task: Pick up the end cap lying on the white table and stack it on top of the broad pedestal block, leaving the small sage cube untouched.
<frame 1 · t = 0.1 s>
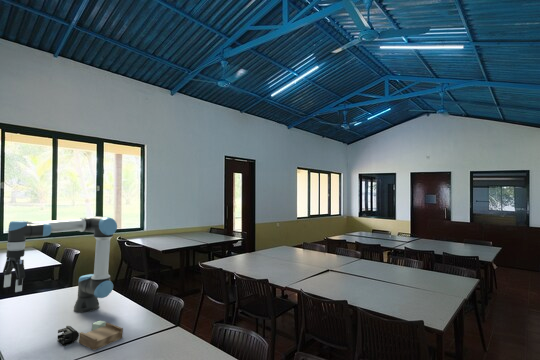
hand: (12, 289, 162), 28 cm above the table, fingers open, 13 cm apart
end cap: (67, 341, 164), on the table
pedestal: (101, 340, 166), on the table
sage cube: (98, 331, 177), on the table
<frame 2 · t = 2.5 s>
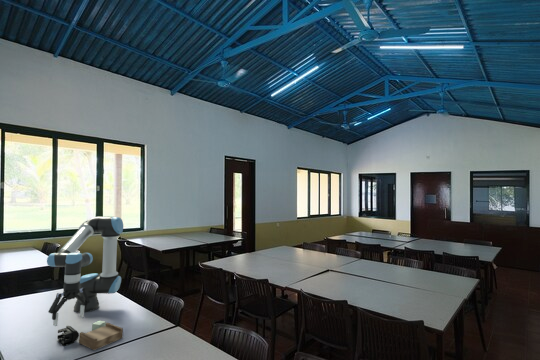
hand: (68, 321, 164), 11 cm above the table, fingers open, 13 cm apart
nothing on the table moved.
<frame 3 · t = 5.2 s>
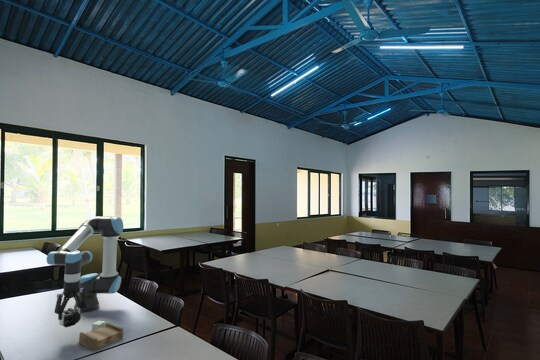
hand: (69, 322, 165), 10 cm above the table, fingers closed on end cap, 8 cm apart
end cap: (69, 323, 165), point 9 cm above the table, touching gripper
everything else where it was.
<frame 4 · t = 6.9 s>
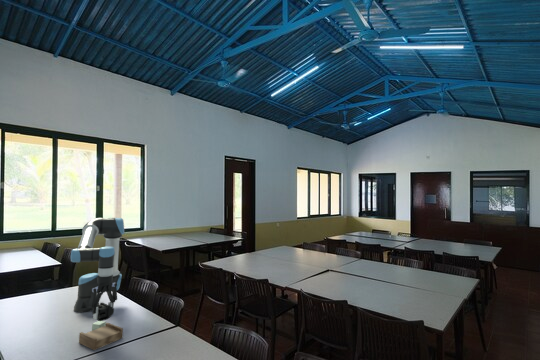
hand: (102, 316, 166), 13 cm above the table, fingers closed on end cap, 8 cm apart
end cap: (102, 317, 166), point 12 cm above the table, touching gripper
everything else where it was.
when the fingers open (5 cm above the table, at t = 8.7 s): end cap stays where it is, resting on pedestal.
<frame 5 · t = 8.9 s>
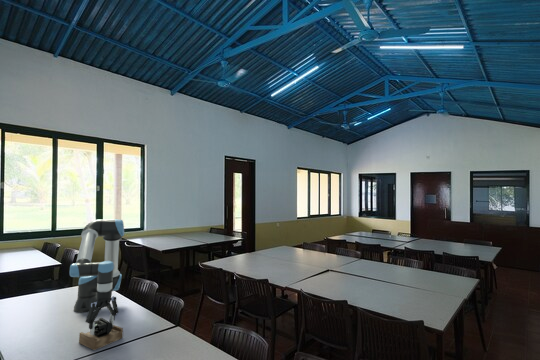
hand: (101, 330, 166), 5 cm above the table, fingers open, 10 cm apart
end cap: (101, 333, 166), point 4 cm above the table, touching pedestal
everything else where it was.
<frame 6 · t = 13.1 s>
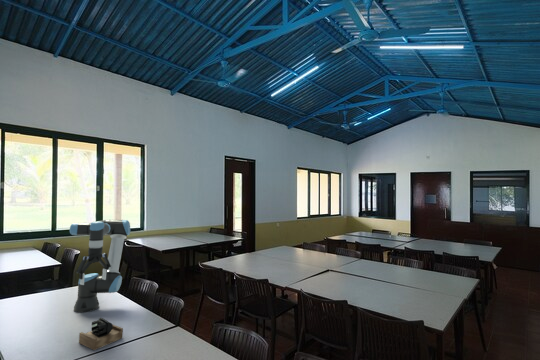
hand: (93, 281, 184), 27 cm above the table, fingers open, 13 cm apart
nothing on the table moved.
at the end: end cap inside the target area on the pedestal (0.0 cm from its centre), point 3.8 cm above the pedestal's base; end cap touching pedestal; sage cube moved 0.1 cm from its start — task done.
